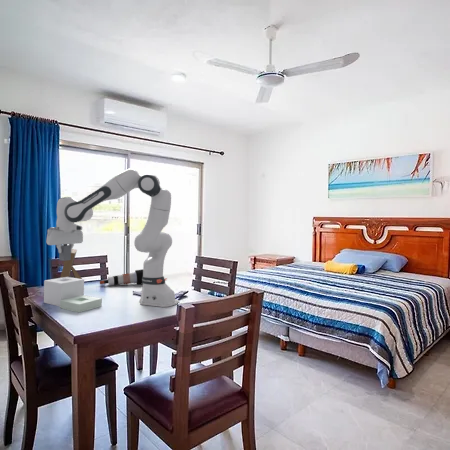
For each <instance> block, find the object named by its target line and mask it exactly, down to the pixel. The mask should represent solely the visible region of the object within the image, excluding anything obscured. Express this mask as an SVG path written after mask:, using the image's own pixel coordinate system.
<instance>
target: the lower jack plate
mask: <svg viewBox="0 0 450 450" xmlns="http://www.w3.org/2000/svg"><path fill="white" fill-rule="evenodd" d="M102 300H103V299H102V298H101V297H95V296H90V295H85V294H84V295H81V296H77V297H73V298H68V299H64V300H60V306H59V307H60V309H61V310H62V309H63V310H67V311H72V312H75V313H82V312H86V311H89V310H93V309H96V308H99V307H102V303H103V301H102Z"/></svg>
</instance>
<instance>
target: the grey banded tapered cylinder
mask: <svg viewBox="0 0 450 450" xmlns="http://www.w3.org/2000/svg"><path fill="white" fill-rule="evenodd" d="M142 276H143V268H142V269H136V270H135V271H134V272H130V273H122V274H119V275H118V274H117V275H112V276H107V279H104V280H99V284H100V285H106V284H108V287H111V286H120V285H130V284H136V285H143V283H142Z"/></svg>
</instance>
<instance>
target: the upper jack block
mask: <svg viewBox="0 0 450 450" xmlns="http://www.w3.org/2000/svg"><path fill="white" fill-rule="evenodd" d="M43 288H44V289H43V303H44V304H47V305H51V306H57V307H60V300H64V299H68V298H73V297H77V296H81V295H85V279H84V278H82V279H78V278H75V277H71V276H70V277H63V278H60V277H58V278H51V279H45V280H44V281H43Z"/></svg>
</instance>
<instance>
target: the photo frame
mask: <svg viewBox="0 0 450 450" xmlns="http://www.w3.org/2000/svg"><path fill="white" fill-rule="evenodd" d="M77 251H78V249H76V248H72V252H71V260H66V261H64V262H63V266H62V269H61V272H60V276H59V278H63V277H71V274H73V276H74V277H73V278H78V279H83V277H81V275H80V274H79V273H78V271H77V270H76V268H74V266H73V265H74V262H75V258H76V254H77Z"/></svg>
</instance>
